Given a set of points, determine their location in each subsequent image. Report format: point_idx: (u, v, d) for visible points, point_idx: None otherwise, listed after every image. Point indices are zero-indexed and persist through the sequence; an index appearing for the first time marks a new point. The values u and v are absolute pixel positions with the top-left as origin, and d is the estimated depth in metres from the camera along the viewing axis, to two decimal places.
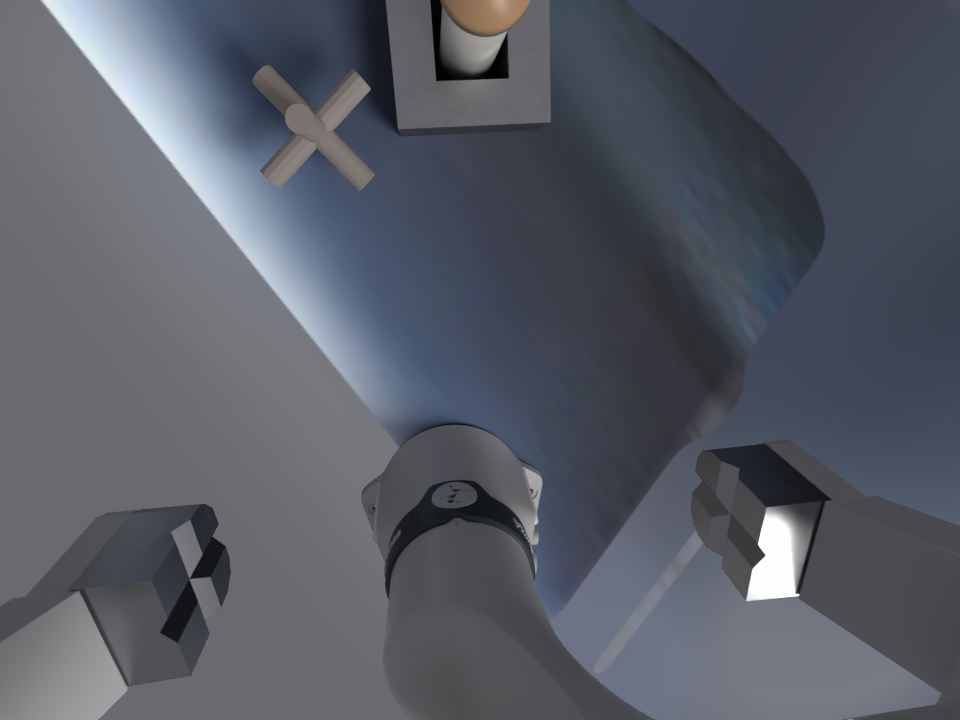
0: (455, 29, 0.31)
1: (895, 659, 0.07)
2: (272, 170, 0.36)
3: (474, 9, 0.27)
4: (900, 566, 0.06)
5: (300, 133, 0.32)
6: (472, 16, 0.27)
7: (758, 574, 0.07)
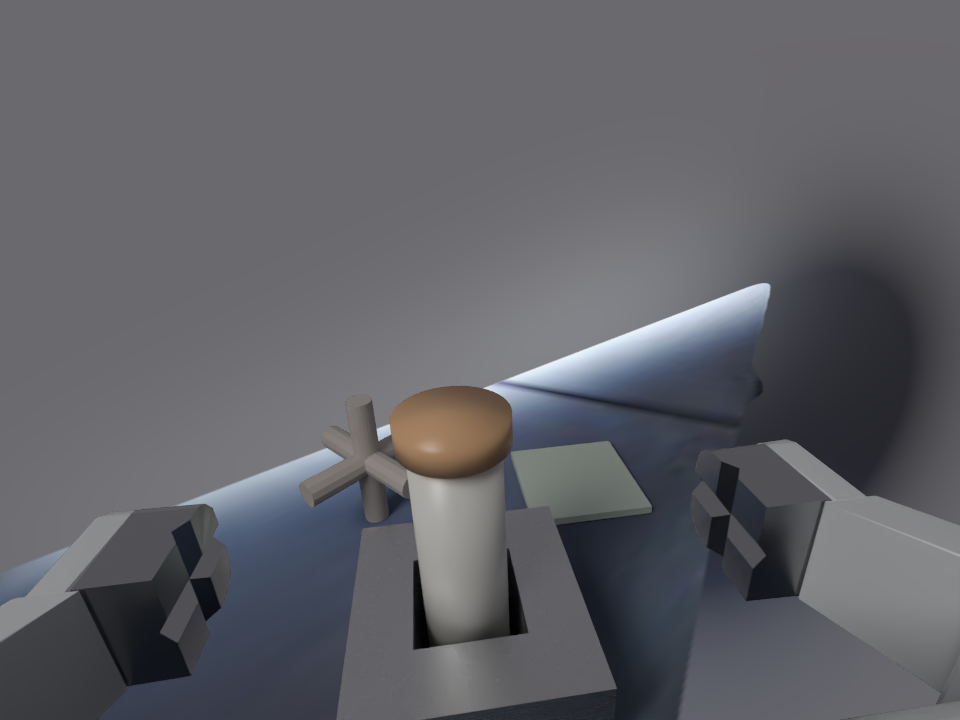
0: None
1: (895, 659, 0.07)
2: (335, 429, 0.39)
3: (410, 408, 0.23)
4: (900, 566, 0.06)
5: (346, 401, 0.34)
6: (403, 408, 0.23)
7: (758, 573, 0.07)
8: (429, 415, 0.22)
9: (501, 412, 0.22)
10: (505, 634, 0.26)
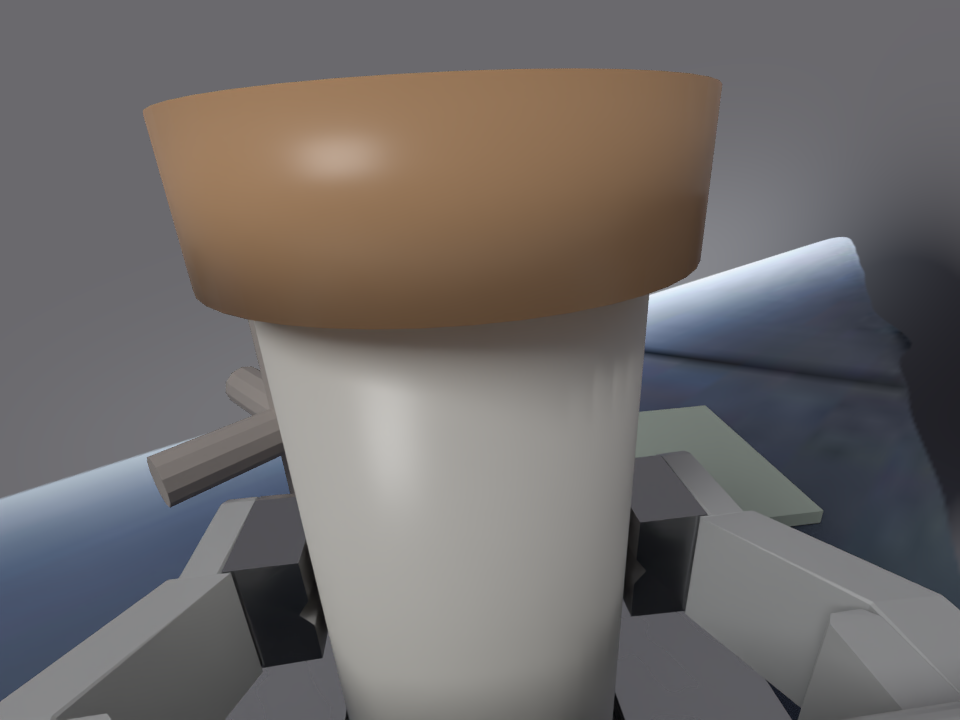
0: None
1: (769, 679, 0.06)
2: (249, 370, 0.22)
3: None
4: (766, 584, 0.06)
5: None
6: None
7: (639, 589, 0.07)
8: None
9: None
10: None
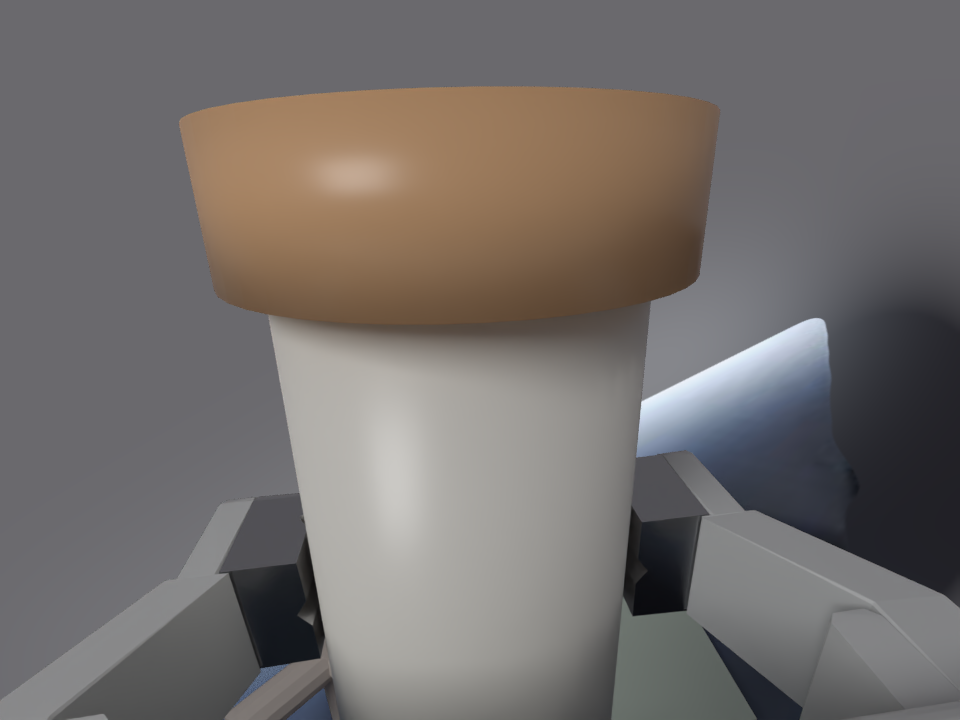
0: None
1: (770, 678, 0.06)
2: None
3: None
4: (767, 584, 0.06)
5: None
6: None
7: (641, 589, 0.07)
8: None
9: None
10: None
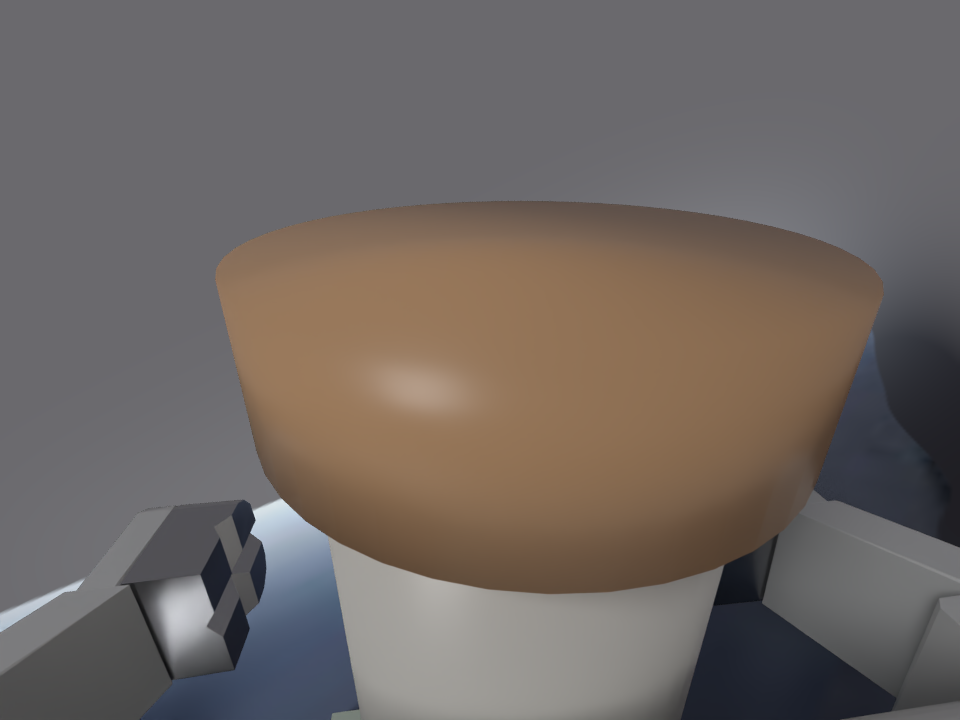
0: None
1: (855, 666, 0.07)
2: None
3: (349, 228, 0.05)
4: (857, 572, 0.06)
5: None
6: (320, 227, 0.05)
7: (720, 579, 0.07)
8: (431, 243, 0.05)
9: (775, 242, 0.05)
10: None
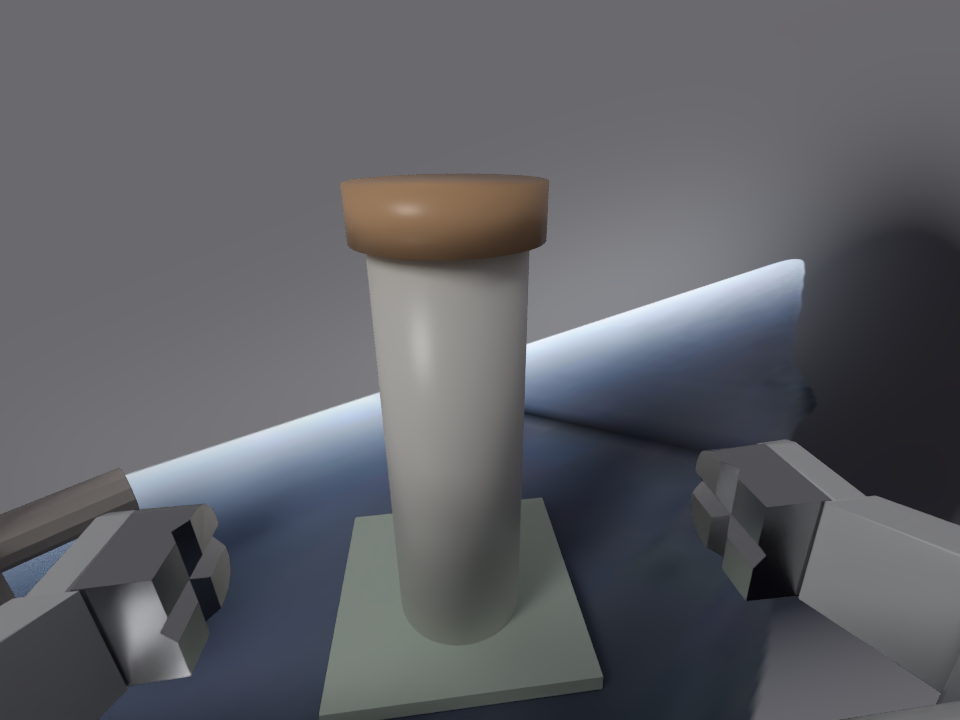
0: None
1: (895, 660, 0.07)
2: None
3: (380, 179, 0.14)
4: (900, 566, 0.06)
5: None
6: (368, 179, 0.14)
7: (758, 574, 0.07)
8: (410, 181, 0.13)
9: (531, 180, 0.13)
10: (513, 573, 0.17)
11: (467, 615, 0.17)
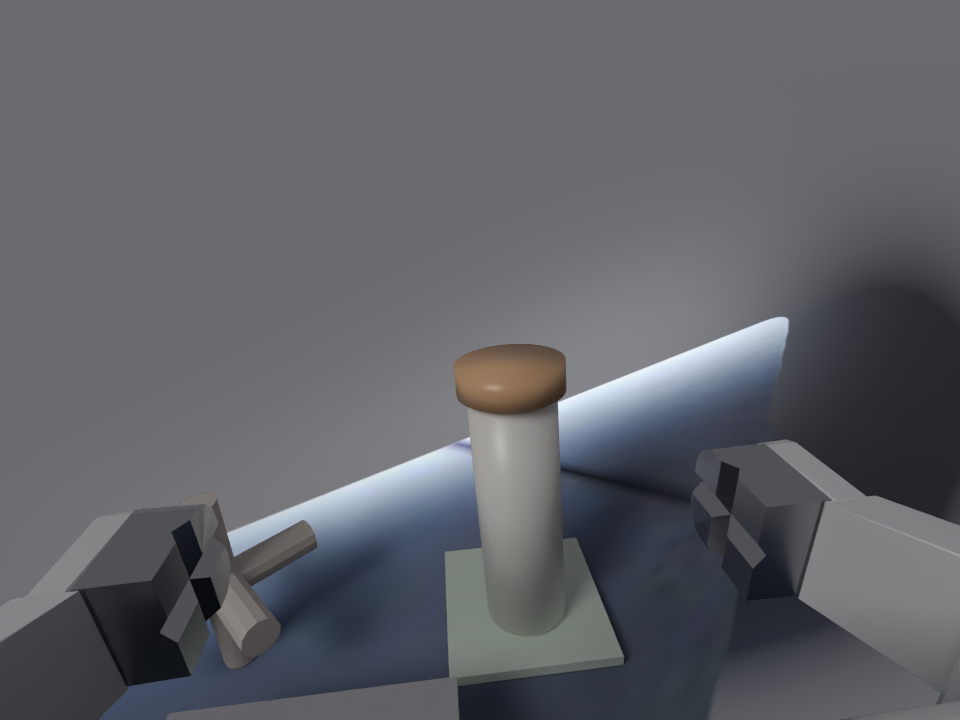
0: None
1: (896, 660, 0.07)
2: None
3: (471, 359, 0.25)
4: (900, 566, 0.06)
5: (178, 505, 0.24)
6: (465, 359, 0.25)
7: (758, 573, 0.07)
8: (489, 363, 0.24)
9: (555, 359, 0.24)
10: (561, 587, 0.27)
11: (534, 615, 0.26)
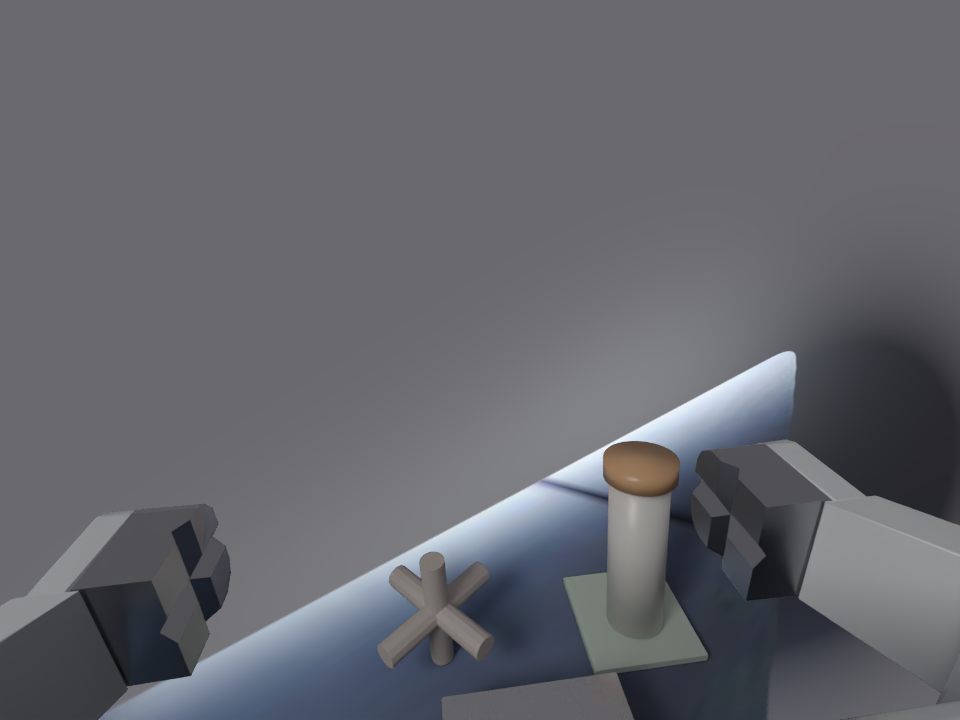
0: None
1: (896, 660, 0.07)
2: (402, 571, 0.41)
3: (613, 454, 0.38)
4: (900, 566, 0.06)
5: (420, 561, 0.36)
6: (608, 454, 0.38)
7: (758, 573, 0.07)
8: (628, 459, 0.37)
9: (672, 458, 0.37)
10: (662, 606, 0.40)
11: (646, 625, 0.39)
